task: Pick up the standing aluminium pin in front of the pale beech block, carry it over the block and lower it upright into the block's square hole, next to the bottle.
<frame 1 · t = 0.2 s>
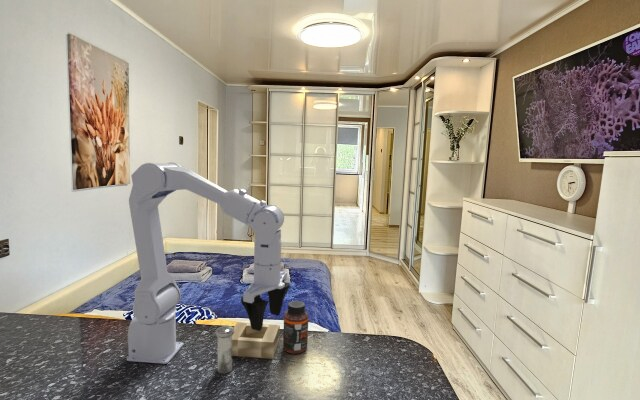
hand: (266, 321, 74), 10 cm above the countertop, tool pointing down, fingers open, 7 cm apart
supplement bottle: (295, 348, 81), on the countertop
pin: (224, 369, 72), on the countertop
hole block: (254, 347, 81), on the countertop
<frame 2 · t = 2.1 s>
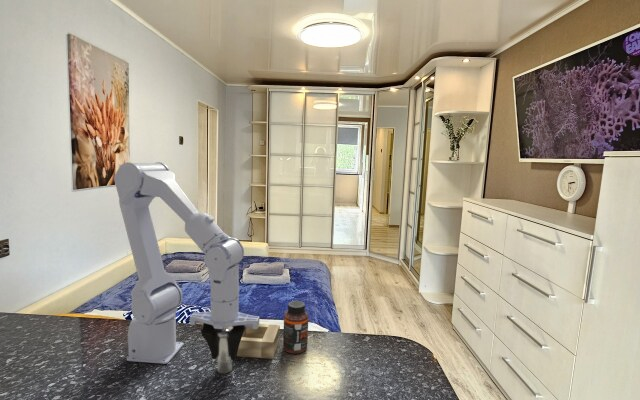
hand: (224, 356, 72), 3 cm above the countertop, tool pointing down, fingers closed on pin, 3 cm apart
pin: (224, 369, 72), on the countertop, touching gripper
everything else where it was.
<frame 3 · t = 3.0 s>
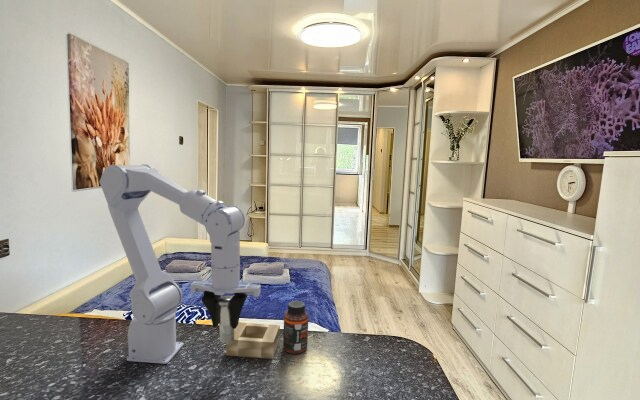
hand: (225, 325, 71), 10 cm above the countertop, tool pointing down, fingers closed on pin, 3 cm apart
pin: (227, 339, 72), point 7 cm above the countertop, touching gripper
everything else where it was.
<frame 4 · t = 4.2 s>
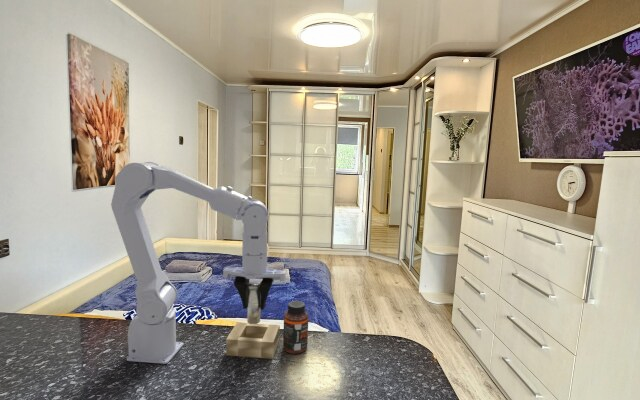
hand: (254, 307, 80), 10 cm above the countertop, tool pointing down, fingers closed on pin, 3 cm apart
pin: (253, 321, 79), point 7 cm above the countertop, touching gripper
everything else where it was.
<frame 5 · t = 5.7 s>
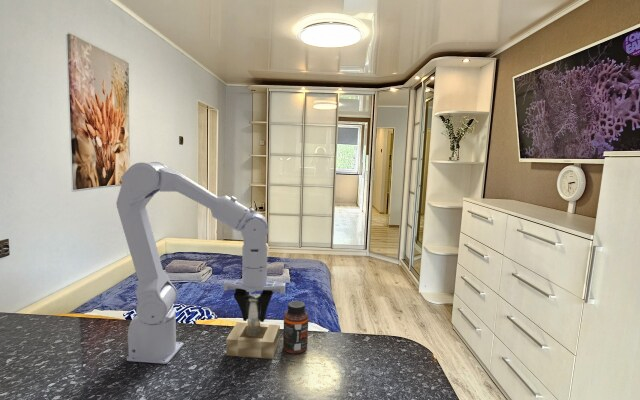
hand: (254, 319, 80), 7 cm above the countertop, tool pointing down, fingers closed on pin, 3 cm apart
pin: (253, 333, 80), point 4 cm above the countertop, touching gripper
everything else where it was.
when the fingers open (5 cm above the countertop, at t = 6.8 s): pin drops 2 cm, resting in hole block.
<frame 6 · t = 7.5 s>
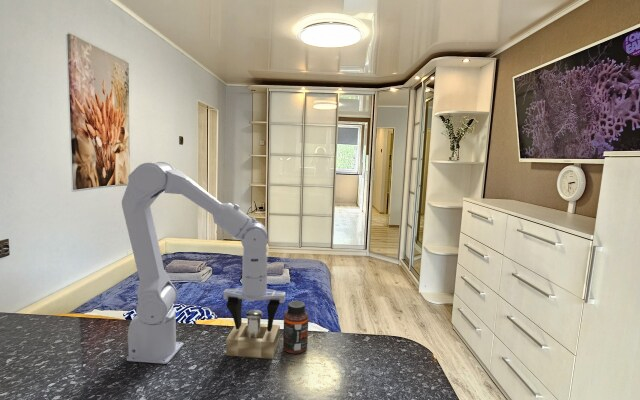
hand: (254, 328, 80), 5 cm above the countertop, tool pointing down, fingers open, 7 cm apart
pin: (253, 348, 80), resting in hole block
everything else where it was.
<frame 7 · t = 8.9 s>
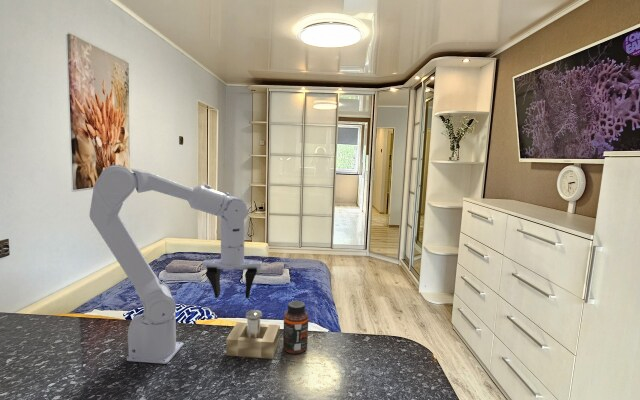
hand: (232, 296, 85), 10 cm above the countertop, tool pointing down, fingers open, 7 cm apart
nothing on the countertop moved.
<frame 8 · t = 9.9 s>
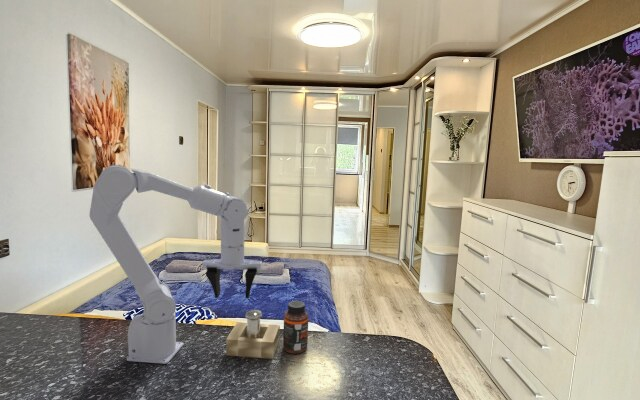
hand: (232, 296, 85), 10 cm above the countertop, tool pointing down, fingers open, 7 cm apart
nothing on the countertop moved.
at the end: pin 0.7 cm off-centre on the hole block, point 0.0 cm above the hole block's base; pin tilted 0°; the gripper is holding nothing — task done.
